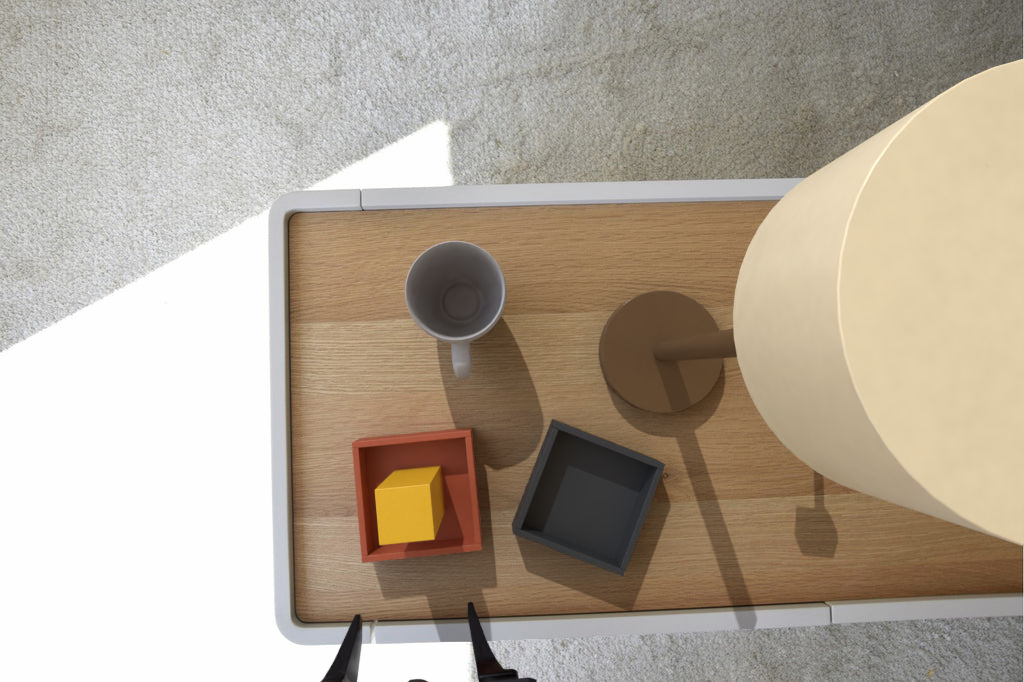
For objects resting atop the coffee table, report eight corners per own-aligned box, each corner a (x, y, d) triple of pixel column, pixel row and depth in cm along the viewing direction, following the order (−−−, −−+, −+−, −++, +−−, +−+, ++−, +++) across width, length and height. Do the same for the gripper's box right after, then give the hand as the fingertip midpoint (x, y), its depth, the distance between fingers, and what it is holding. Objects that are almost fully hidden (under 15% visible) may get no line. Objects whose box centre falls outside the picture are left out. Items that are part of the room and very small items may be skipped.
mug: (414, 261, 66) (400, 243, 56) (502, 256, 66) (503, 236, 56) (422, 381, 65) (409, 382, 56) (510, 374, 66) (513, 375, 56)
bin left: (482, 540, 65) (482, 550, 61) (369, 552, 64) (361, 563, 61) (472, 427, 65) (470, 430, 62) (359, 438, 65) (351, 442, 61)
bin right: (616, 565, 65) (623, 576, 61) (511, 524, 65) (512, 533, 61) (656, 459, 66) (665, 464, 62) (552, 418, 65) (555, 421, 62)
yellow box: (445, 511, 64) (434, 539, 53) (399, 515, 64) (379, 545, 53) (441, 464, 64) (429, 484, 53) (395, 469, 64) (374, 489, 53)
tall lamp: (715, 432, 66) (1303, 596, 18) (578, 408, 66) (802, 509, 18) (736, 296, 67) (1359, 101, 19) (601, 272, 66) (877, 11, 18)
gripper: (550, 794, 37) (523, 547, 49) (220, 832, 37) (271, 573, 48) (552, 837, 45) (528, 614, 56) (278, 870, 44) (310, 638, 56)
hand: (414, 610), depth 54 cm, fingers open, 9 cm apart
